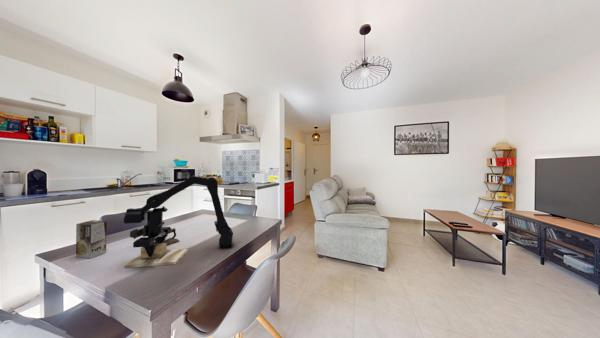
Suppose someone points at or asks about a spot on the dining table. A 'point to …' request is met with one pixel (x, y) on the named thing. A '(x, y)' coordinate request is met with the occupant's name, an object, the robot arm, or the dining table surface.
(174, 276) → the dining table surface
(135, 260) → the birch board
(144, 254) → the block
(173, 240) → the clothes iron
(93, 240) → the coffee box
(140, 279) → the dining table surface
